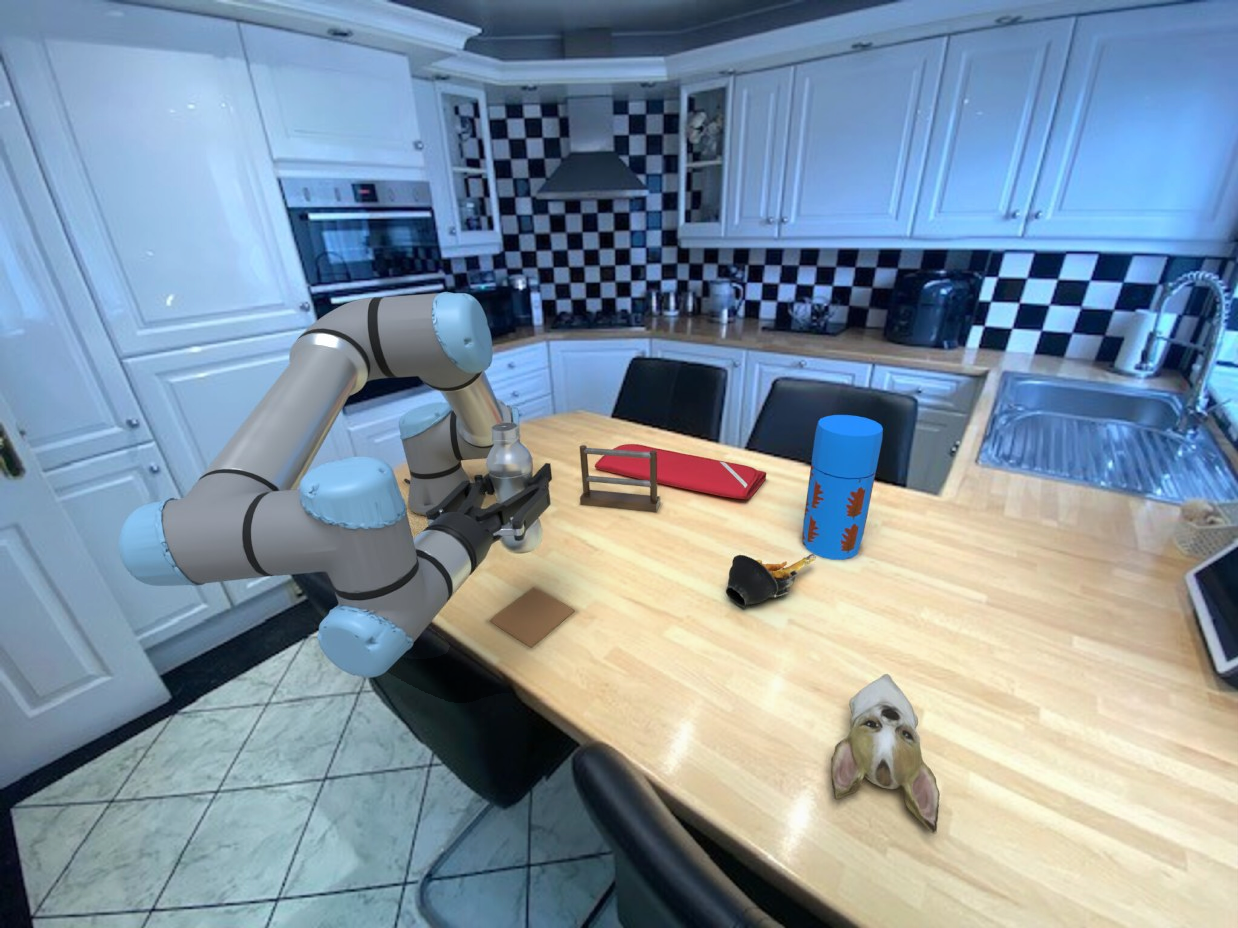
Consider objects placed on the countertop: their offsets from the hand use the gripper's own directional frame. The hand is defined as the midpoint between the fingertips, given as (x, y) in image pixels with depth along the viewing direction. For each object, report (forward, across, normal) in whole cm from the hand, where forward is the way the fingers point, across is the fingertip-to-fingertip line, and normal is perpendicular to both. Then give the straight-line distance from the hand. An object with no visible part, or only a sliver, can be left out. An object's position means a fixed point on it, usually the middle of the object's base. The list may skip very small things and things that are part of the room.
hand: (528, 469), depth 78 cm
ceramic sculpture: (-19, +50, -25) cm, 60 cm away
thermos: (+27, +49, -25) cm, 61 cm away
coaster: (-5, 0, -25) cm, 25 cm away
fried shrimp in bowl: (+10, +38, -25) cm, 47 cm away
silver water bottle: (-5, 0, -11) cm, 12 cm away
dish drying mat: (+51, +15, -25) cm, 59 cm away
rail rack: (+34, +5, -25) cm, 42 cm away
